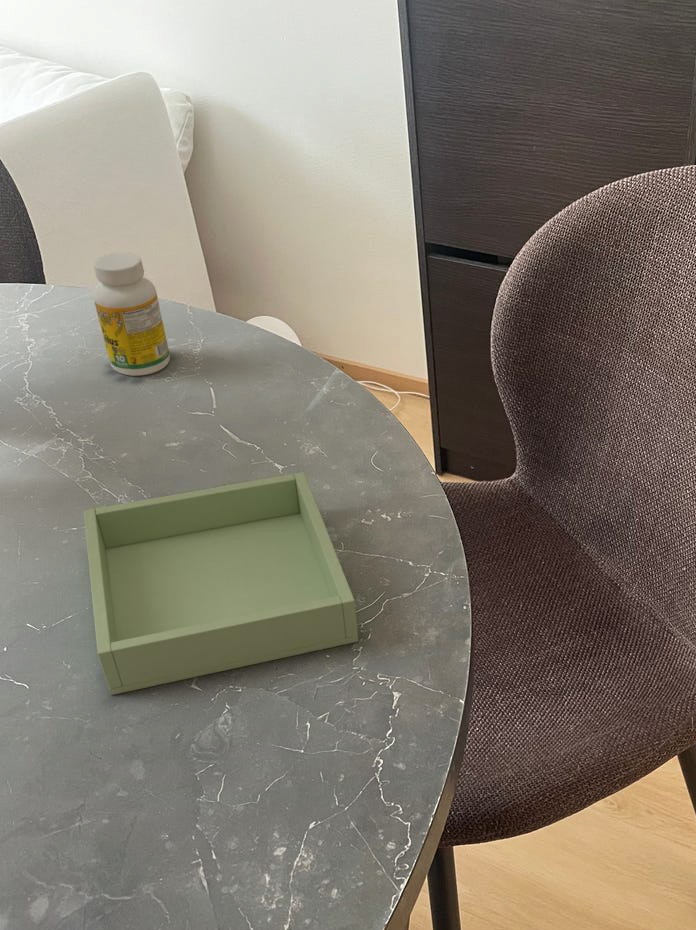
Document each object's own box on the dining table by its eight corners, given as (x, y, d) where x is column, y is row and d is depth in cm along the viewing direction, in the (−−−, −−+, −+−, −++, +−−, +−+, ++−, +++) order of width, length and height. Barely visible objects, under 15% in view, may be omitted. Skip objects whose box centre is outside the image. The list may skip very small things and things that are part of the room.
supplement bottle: (178, 368, 95) (157, 265, 89) (120, 382, 93) (95, 278, 87) (159, 345, 99) (138, 244, 92) (103, 358, 97) (77, 256, 90)
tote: (111, 695, 64) (97, 653, 62) (95, 550, 75) (82, 509, 72) (358, 641, 68) (354, 600, 65) (309, 511, 79) (304, 471, 76)
